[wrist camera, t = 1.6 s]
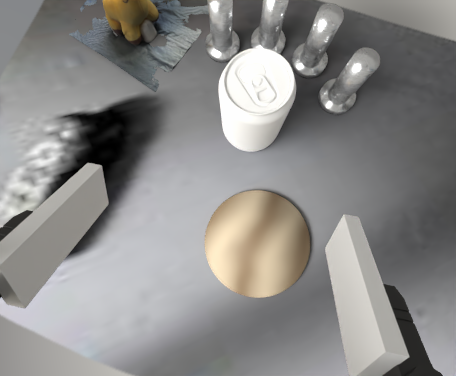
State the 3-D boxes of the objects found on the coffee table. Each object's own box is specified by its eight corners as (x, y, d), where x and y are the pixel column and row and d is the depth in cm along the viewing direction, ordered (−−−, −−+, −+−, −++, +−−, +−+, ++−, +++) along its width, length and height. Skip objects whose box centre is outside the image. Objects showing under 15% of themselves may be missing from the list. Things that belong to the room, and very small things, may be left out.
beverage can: (263, 90, 39) (277, 31, 27) (288, 138, 38) (313, 98, 26) (213, 112, 38) (204, 62, 27) (237, 162, 37) (238, 132, 25)
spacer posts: (361, 45, 39) (398, -7, 31) (350, 117, 38) (386, 84, 29) (212, 19, 40) (206, -39, 32) (196, 88, 39) (185, 48, 30)
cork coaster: (316, 202, 36) (317, 201, 36) (299, 306, 35) (300, 308, 34) (217, 181, 37) (216, 181, 36) (195, 283, 35) (194, 284, 35)
